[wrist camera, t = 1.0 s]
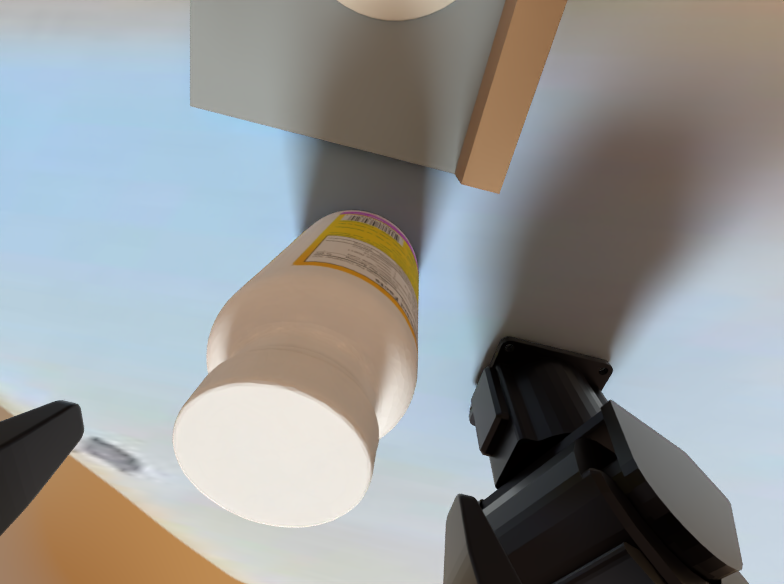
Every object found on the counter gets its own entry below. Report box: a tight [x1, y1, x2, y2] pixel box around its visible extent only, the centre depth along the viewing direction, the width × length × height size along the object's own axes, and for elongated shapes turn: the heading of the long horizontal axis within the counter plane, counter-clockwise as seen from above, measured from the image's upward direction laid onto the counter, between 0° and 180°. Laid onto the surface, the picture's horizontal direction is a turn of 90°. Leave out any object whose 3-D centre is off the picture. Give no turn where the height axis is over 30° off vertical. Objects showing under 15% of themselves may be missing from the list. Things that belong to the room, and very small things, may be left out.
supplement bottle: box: [173, 210, 419, 527], centre depth 14 cm, size 7×7×13 cm
